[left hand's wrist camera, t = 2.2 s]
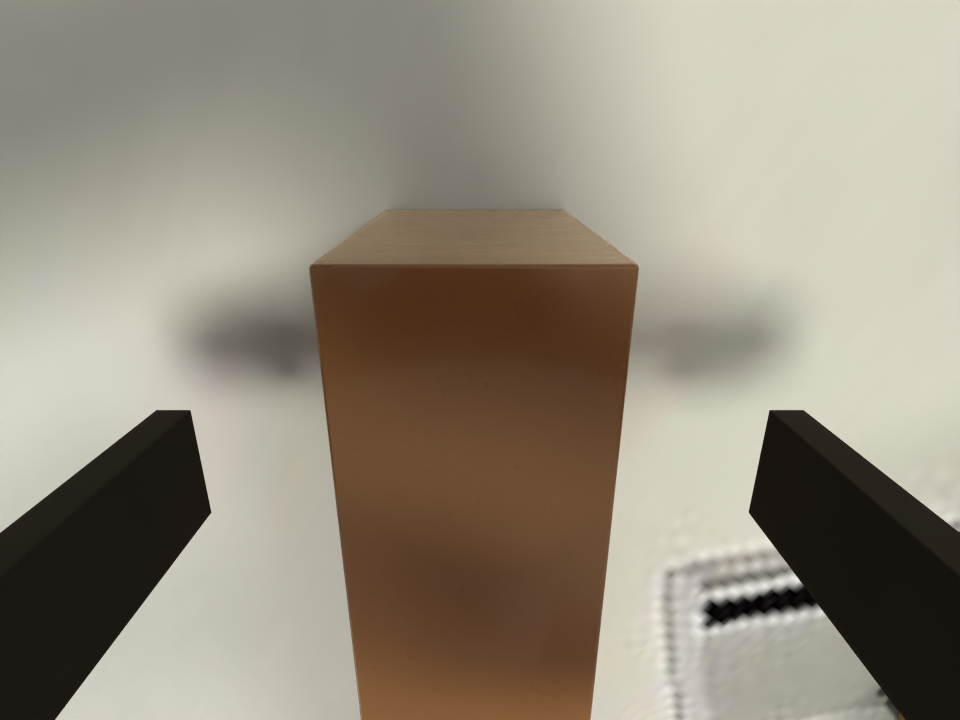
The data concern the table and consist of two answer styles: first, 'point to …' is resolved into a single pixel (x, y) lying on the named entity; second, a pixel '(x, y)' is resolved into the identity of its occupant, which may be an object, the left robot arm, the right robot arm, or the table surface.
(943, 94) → the table surface
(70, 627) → the left robot arm
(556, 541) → the post
